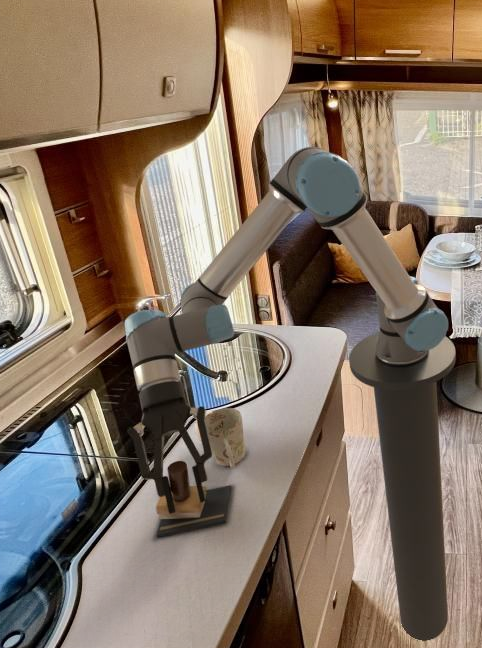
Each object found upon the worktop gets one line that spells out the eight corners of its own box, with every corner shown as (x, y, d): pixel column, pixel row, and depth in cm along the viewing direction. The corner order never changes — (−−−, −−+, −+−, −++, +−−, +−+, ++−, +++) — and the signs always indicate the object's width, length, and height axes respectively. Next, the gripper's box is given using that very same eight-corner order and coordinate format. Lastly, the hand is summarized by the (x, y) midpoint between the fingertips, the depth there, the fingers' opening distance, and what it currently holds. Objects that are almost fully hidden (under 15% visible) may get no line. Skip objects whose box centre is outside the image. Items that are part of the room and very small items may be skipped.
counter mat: (231, 487, 101) (230, 484, 101) (225, 522, 93) (225, 520, 93) (168, 500, 99) (167, 497, 98) (156, 537, 91) (155, 535, 91)
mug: (245, 438, 114) (236, 403, 110) (260, 471, 105) (250, 434, 100) (207, 453, 110) (196, 417, 106) (219, 489, 101) (207, 451, 96)
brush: (207, 498, 98) (202, 457, 94) (200, 518, 94) (195, 475, 89) (166, 500, 97) (160, 458, 92) (158, 520, 92) (150, 477, 88)
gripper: (209, 378, 104) (238, 489, 97) (113, 405, 96) (137, 527, 90) (206, 368, 97) (237, 487, 91) (103, 396, 90) (129, 527, 84)
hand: (187, 506), depth 91 cm, fingers closed on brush, 4 cm apart
